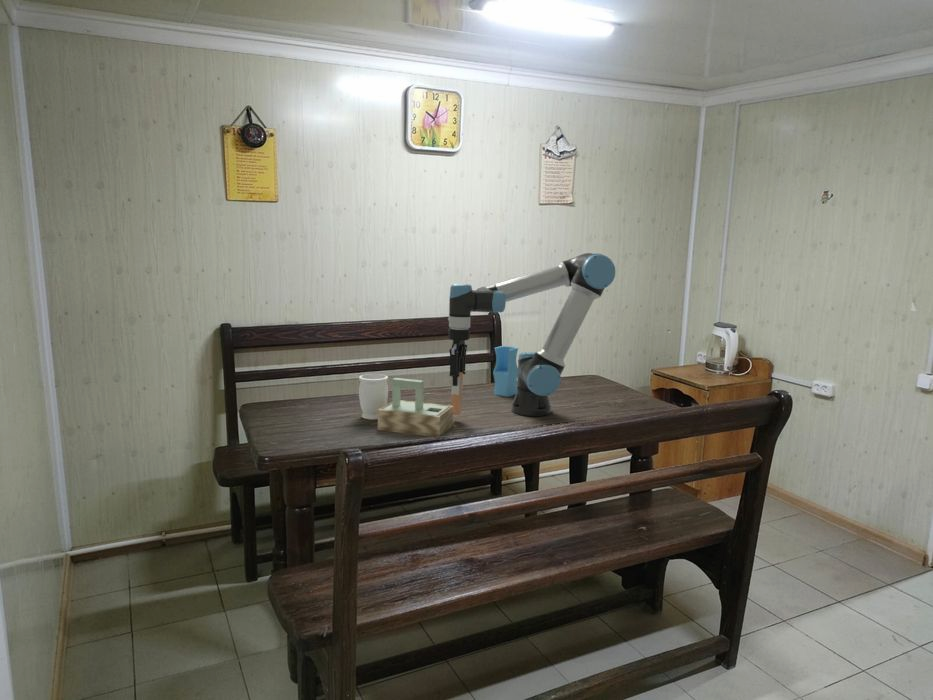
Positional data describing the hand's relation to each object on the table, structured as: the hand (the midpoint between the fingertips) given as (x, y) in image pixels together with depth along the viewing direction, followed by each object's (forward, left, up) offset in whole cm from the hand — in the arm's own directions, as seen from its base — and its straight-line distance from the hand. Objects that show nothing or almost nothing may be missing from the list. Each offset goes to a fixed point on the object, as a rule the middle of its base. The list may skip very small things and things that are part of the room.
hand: (456, 393), depth 225 cm
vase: (-7, -47, -11) cm, 49 cm away
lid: (+10, +13, -4) cm, 17 cm away
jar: (+29, +7, -11) cm, 32 cm away
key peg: (0, 0, -8) cm, 8 cm away
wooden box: (+10, +13, -10) cm, 20 cm away
